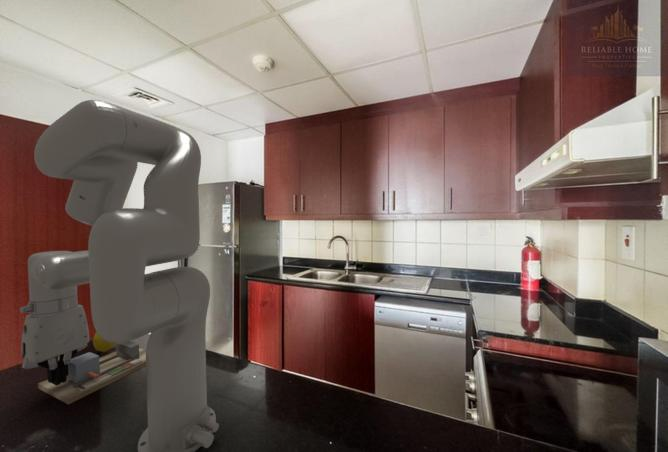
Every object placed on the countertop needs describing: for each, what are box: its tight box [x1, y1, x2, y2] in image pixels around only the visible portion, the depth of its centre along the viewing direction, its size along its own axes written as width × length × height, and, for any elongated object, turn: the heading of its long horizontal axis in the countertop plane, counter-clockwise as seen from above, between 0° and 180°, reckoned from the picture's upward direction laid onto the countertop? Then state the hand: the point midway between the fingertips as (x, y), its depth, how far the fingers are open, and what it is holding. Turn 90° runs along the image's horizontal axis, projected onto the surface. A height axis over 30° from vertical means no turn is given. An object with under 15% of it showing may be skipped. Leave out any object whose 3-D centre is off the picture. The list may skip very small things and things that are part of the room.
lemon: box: [92, 331, 116, 353], centre depth 79 cm, size 6×6×8 cm
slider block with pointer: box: [67, 351, 100, 383], centre depth 64 cm, size 8×4×4 cm, turn 67°
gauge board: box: [37, 341, 146, 405], centre depth 69 cm, size 14×20×5 cm
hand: (58, 382), depth 61 cm, fingers closed
